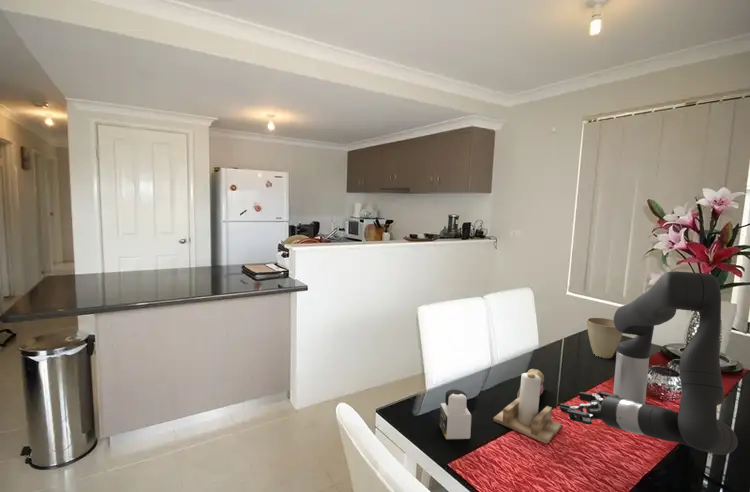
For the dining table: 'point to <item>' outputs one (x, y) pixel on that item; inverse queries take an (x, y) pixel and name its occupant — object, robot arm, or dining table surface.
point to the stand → (539, 428)
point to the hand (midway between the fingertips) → (570, 401)
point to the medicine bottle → (455, 416)
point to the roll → (529, 398)
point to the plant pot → (603, 336)
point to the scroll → (539, 376)
